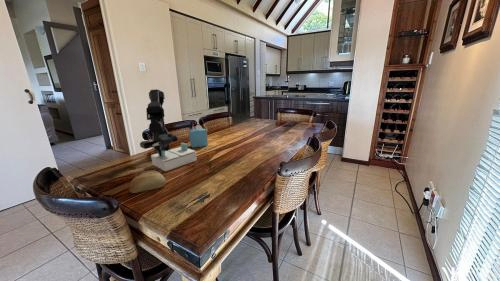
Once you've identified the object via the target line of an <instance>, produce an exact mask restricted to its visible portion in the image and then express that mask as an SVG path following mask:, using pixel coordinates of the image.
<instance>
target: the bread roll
mask: <svg viewBox="0 0 500 281" xmlns="http://www.w3.org/2000/svg"><path fill="white" fill-rule="evenodd" d="M166 184H167V179H166V178H165V176H163V174H162V172H159V171H156V170H144V171H142V172H140V173H138V174H136V175H134V177H133V178H132V180H131V181H130V184H129V186H128V190H129V193H132V194H137V193H141V192H146V191H151V190H156V189H157V190H158V189H160V188H163V187H164V186H165V185H166Z"/></svg>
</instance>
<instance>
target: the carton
mask: <svg viewBox="0 0 500 281" xmlns="http://www.w3.org/2000/svg"><path fill="white" fill-rule="evenodd" d="M171 153H172V152H171ZM176 155H177V154H176ZM150 157H151V161H152V162H151V163H152V166H155V167H156V168H159V169H160V170H163V171H164V172H167V171H170V170H174V169H177V168H179V167H182V166H184V165H188V164H191V163H193V162H196V161H197V160H198V158H197V157H198V156H197V152H193V153H190V154H187V155H184V156H180V157H178V158H174V159H171V160H168V161H165V162H163V161H160V160H158V159H156V158H154V157H152V156H151V155H150Z"/></svg>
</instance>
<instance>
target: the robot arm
mask: <svg viewBox="0 0 500 281" xmlns="http://www.w3.org/2000/svg"><path fill="white" fill-rule="evenodd" d="M148 97H149V100H150V102H148V104H147V107H146V112H145V113H146V121H150V123H149V125H148V130H149V131H150V133H151V134H152V138H151V139H152V140H151V141H150V140H142V141H140V143H139V147H140V148H142V149H144V150H145V149H146V150H147V149H150V148H151V149H152V148H154V150H155V151H156V154H157V153H158V154H159V156H160V157H161V151H160V149H162V150H164V152H165V151H168V150H171V149H170V144H171V143H173V142H174V143H175V142H177V141H179V138H178V136H177V135H174V134H172V132H171V133H169V131H168V129H167V128H166V124H165V109H164V107H163V105H164V103H165V93H164V91H162V90H160V89H150V90H149V92H148Z"/></svg>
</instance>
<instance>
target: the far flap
mask: <svg viewBox="0 0 500 281" xmlns="http://www.w3.org/2000/svg"><path fill="white" fill-rule="evenodd" d="M168 151H169V152H172V153H174V154H177V155H179V156H184V155H187V154H190V153H193V152H196V150H194V149H191V148H188V143H185V142H180V146H179V147H175V148H172V149H170V150H168ZM196 153H197V152H196Z"/></svg>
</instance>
